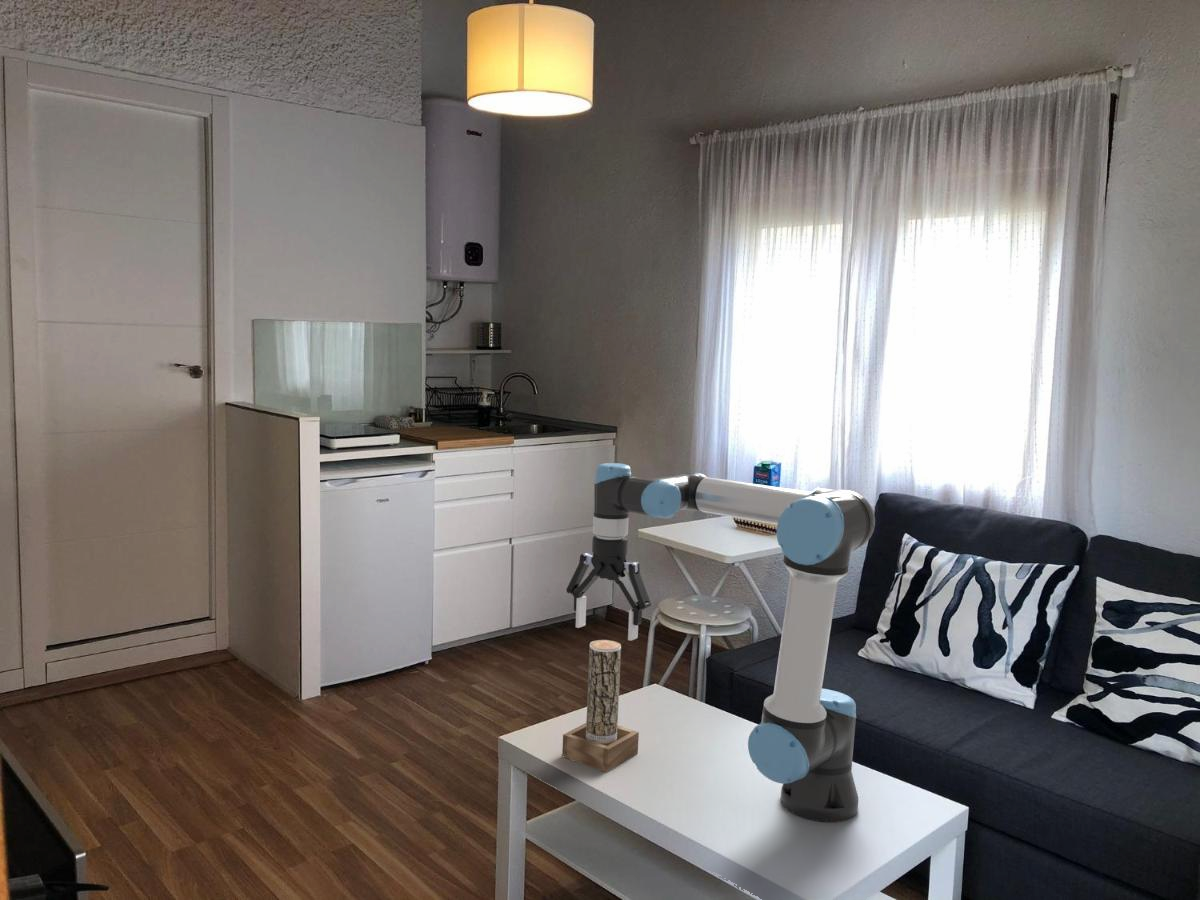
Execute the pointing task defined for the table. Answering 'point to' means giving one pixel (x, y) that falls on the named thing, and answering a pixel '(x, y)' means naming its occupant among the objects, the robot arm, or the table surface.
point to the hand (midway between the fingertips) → (606, 632)
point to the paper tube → (603, 691)
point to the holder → (600, 748)
